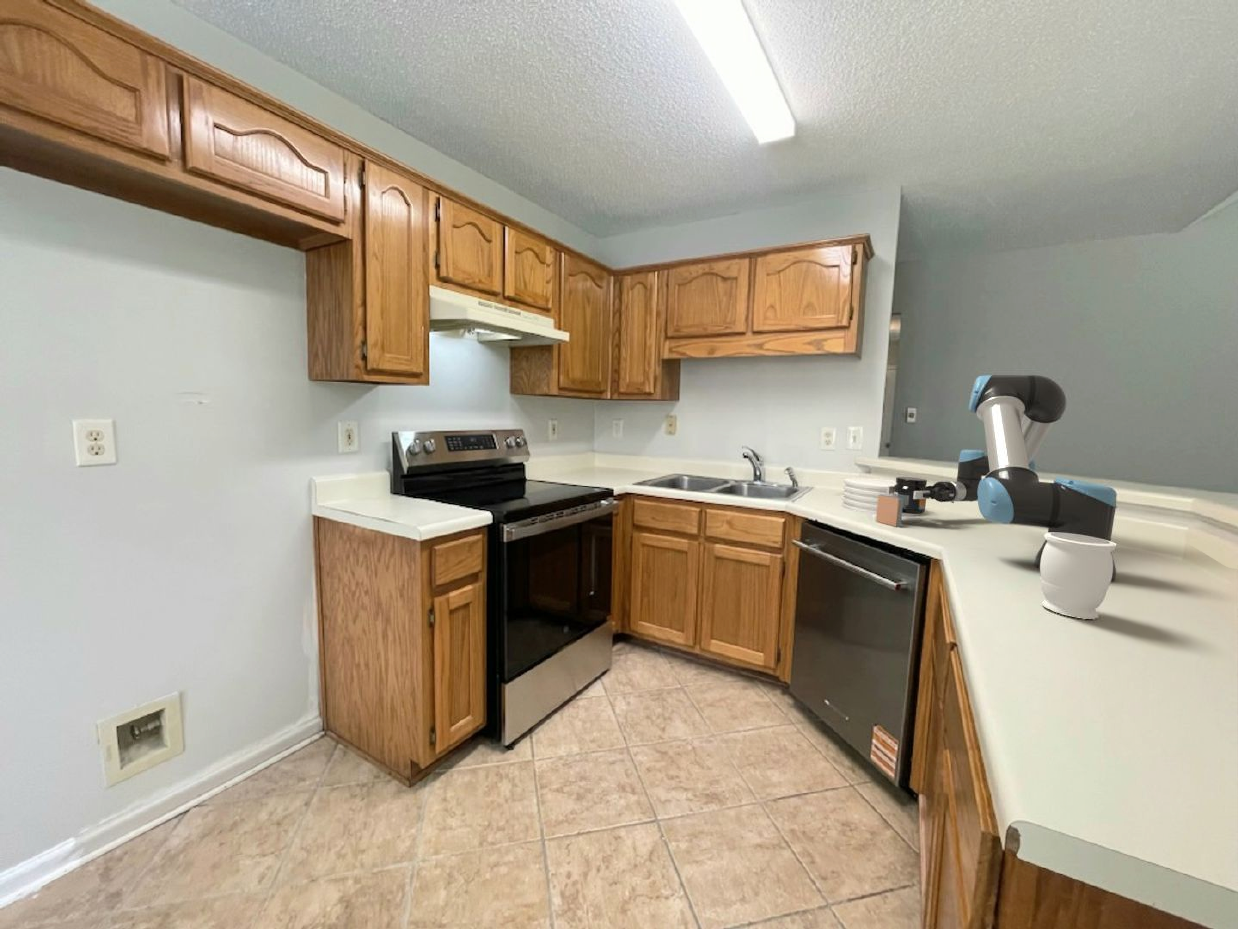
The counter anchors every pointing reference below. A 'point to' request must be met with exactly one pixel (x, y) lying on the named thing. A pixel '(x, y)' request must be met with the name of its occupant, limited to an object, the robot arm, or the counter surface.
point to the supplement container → (910, 494)
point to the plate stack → (865, 494)
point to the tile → (889, 510)
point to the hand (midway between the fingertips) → (900, 492)
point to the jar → (1075, 573)
